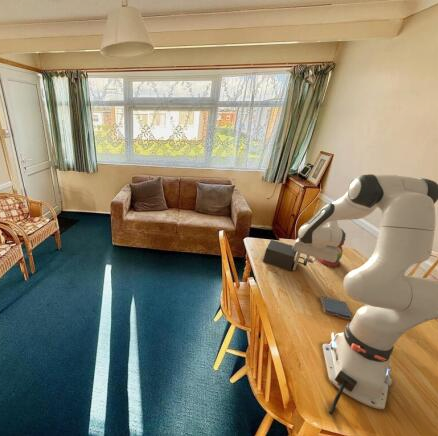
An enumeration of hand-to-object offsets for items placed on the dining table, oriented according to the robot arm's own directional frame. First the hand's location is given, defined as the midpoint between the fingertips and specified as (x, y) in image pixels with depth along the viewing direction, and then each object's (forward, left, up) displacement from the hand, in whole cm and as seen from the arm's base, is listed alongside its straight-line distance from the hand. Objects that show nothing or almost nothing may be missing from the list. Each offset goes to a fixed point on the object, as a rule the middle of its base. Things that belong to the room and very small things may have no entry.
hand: (310, 262), depth 128 cm
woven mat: (-25, -13, -6) cm, 29 cm away
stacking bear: (+17, -9, -6) cm, 20 cm away
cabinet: (0, +15, -6) cm, 16 cm away
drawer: (0, +10, -5) cm, 11 cm away
